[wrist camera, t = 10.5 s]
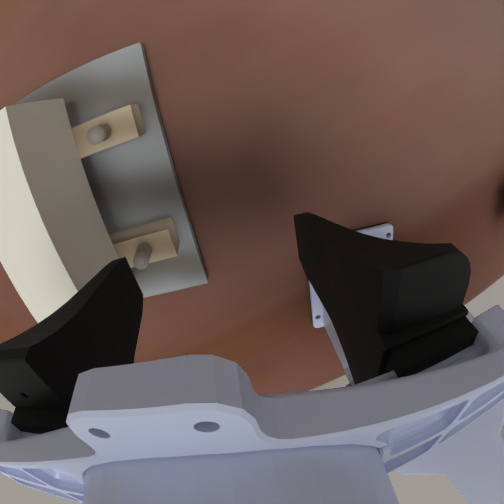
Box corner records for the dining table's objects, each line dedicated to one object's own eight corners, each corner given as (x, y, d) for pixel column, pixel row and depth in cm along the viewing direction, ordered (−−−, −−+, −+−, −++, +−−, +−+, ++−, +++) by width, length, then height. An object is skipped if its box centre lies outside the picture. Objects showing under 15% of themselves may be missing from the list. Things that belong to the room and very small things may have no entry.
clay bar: (134, 291, 20) (118, 355, 15) (89, 301, 20) (66, 361, 15) (63, 98, 13) (5, 106, 8) (16, 124, 13) (-44, 145, 8)
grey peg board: (207, 275, 24) (209, 312, 20) (67, 307, 23) (51, 341, 20) (143, 44, 14) (125, 31, 11) (-11, 124, 14) (-46, 136, 10)
